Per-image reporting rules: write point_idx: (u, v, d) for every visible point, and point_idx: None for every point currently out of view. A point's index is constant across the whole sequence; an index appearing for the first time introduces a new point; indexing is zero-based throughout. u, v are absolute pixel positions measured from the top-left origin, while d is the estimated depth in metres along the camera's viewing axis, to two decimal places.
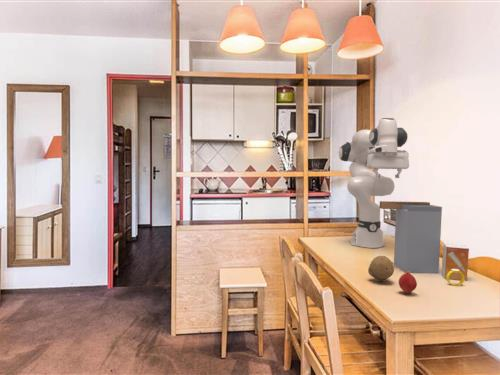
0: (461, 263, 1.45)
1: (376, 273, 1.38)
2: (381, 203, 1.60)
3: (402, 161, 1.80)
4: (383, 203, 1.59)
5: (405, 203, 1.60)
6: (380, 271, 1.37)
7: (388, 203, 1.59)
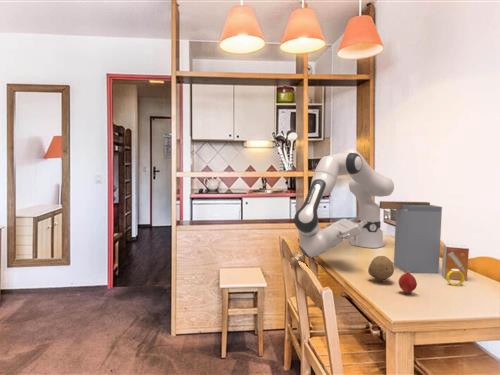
0: (461, 263, 1.45)
1: (376, 273, 1.38)
2: (381, 203, 1.60)
3: None
4: (383, 203, 1.59)
5: (405, 203, 1.60)
6: (380, 271, 1.37)
7: (388, 203, 1.59)
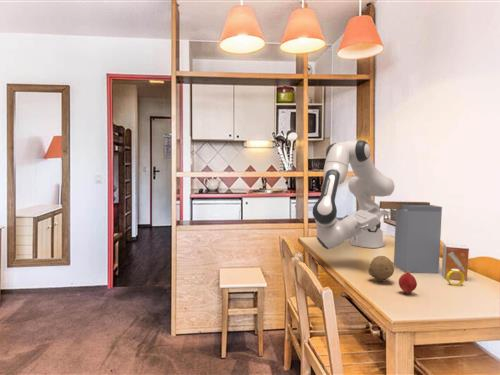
0: (461, 263, 1.45)
1: (376, 273, 1.38)
2: (381, 203, 1.60)
3: None
4: (383, 203, 1.59)
5: (405, 203, 1.60)
6: (380, 271, 1.37)
7: (388, 203, 1.59)
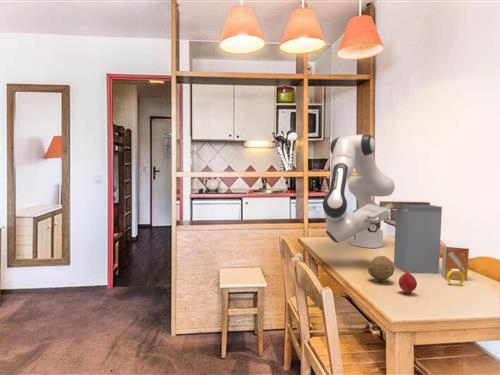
0: (461, 263, 1.45)
1: (376, 273, 1.38)
2: (381, 203, 1.60)
3: None
4: (383, 203, 1.59)
5: (405, 203, 1.60)
6: (380, 271, 1.37)
7: (388, 203, 1.59)
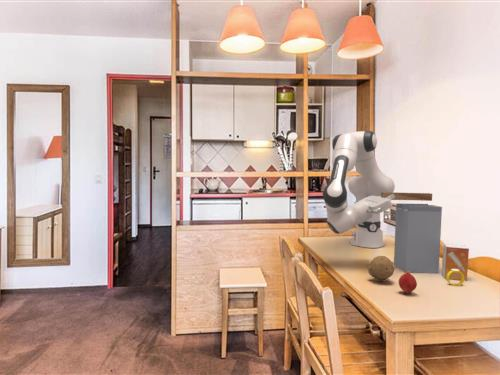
0: (461, 263, 1.45)
1: (376, 273, 1.38)
2: (383, 194, 1.58)
3: None
4: (385, 194, 1.57)
5: (407, 194, 1.58)
6: (380, 271, 1.37)
7: (390, 194, 1.58)
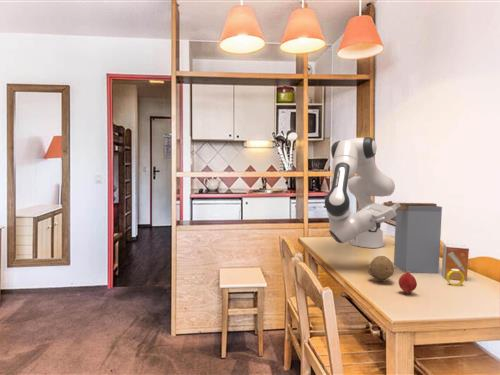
0: (461, 263, 1.45)
1: (376, 273, 1.38)
2: (386, 204, 1.55)
3: None
4: (388, 204, 1.54)
5: (411, 204, 1.54)
6: (380, 271, 1.37)
7: (393, 204, 1.54)
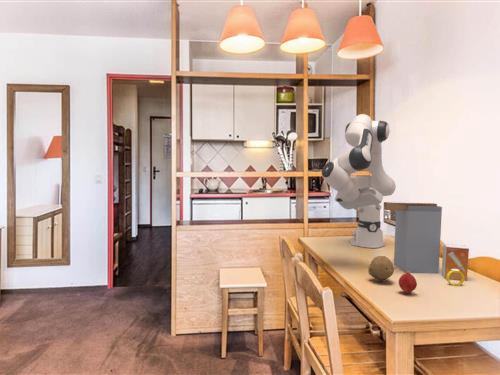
0: (461, 263, 1.45)
1: (376, 273, 1.38)
2: (386, 204, 1.55)
3: (370, 199, 1.55)
4: (388, 204, 1.54)
5: (411, 204, 1.54)
6: (380, 271, 1.37)
7: (393, 204, 1.54)
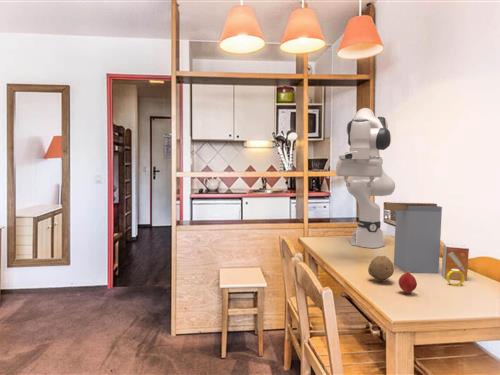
0: (461, 263, 1.45)
1: (376, 273, 1.38)
2: (386, 204, 1.55)
3: (375, 168, 1.62)
4: (388, 204, 1.54)
5: (411, 204, 1.54)
6: (380, 271, 1.37)
7: (393, 204, 1.54)
